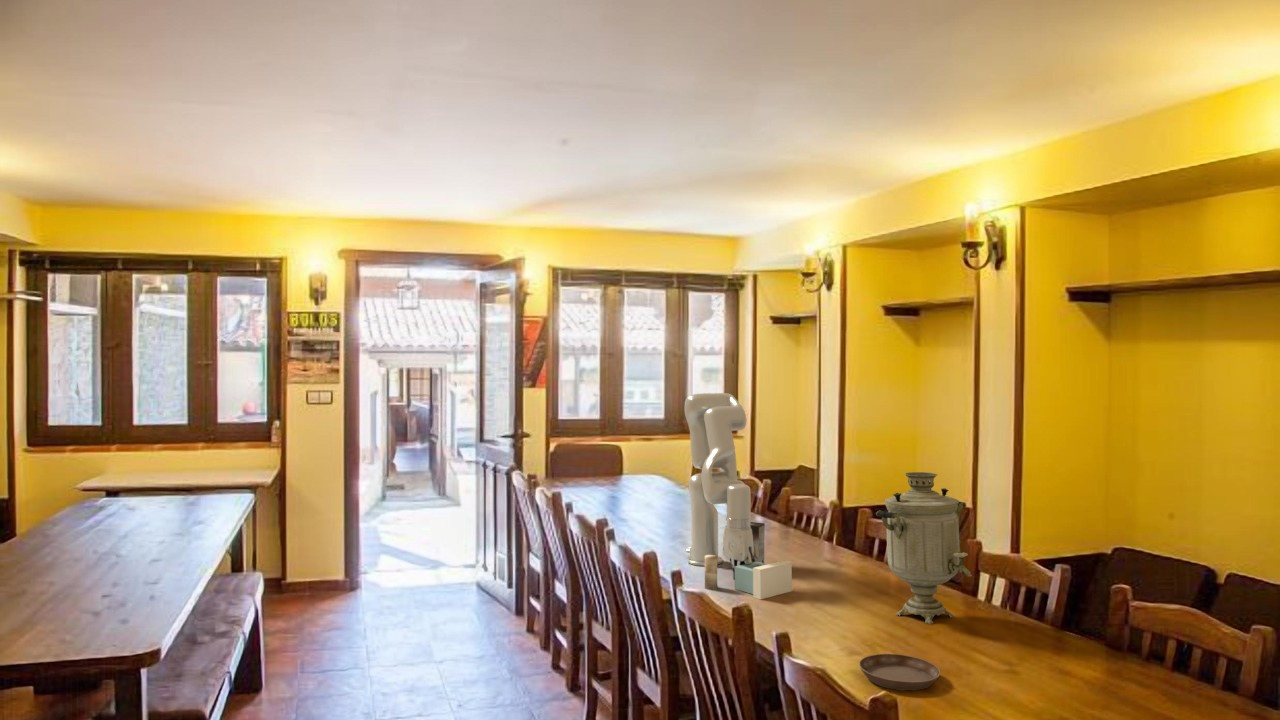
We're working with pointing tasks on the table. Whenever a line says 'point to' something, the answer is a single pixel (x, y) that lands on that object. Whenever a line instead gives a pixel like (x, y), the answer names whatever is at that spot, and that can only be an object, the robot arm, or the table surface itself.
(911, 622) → the table surface
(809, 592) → the table surface
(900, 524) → the samovar
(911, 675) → the plant saucer
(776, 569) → the block
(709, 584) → the dowel
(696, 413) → the robot arm
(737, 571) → the green square container
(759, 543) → the coffee box
